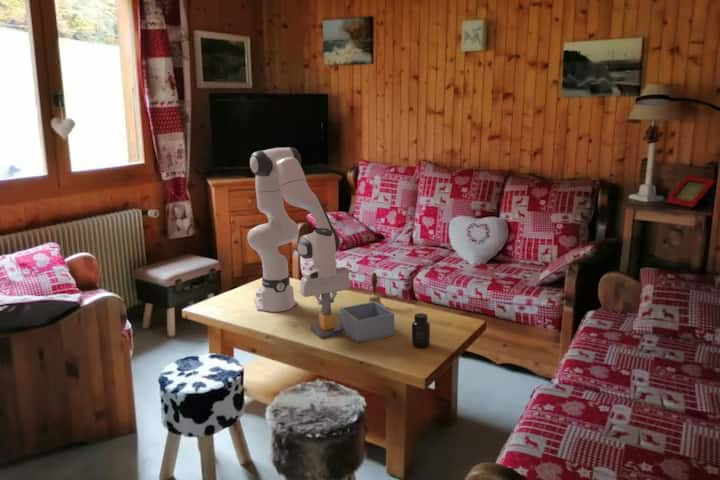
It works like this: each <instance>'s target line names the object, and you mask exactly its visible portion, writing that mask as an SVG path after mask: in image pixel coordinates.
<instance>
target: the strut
mask: <svg viewBox="0 0 720 480" xmlns="http://www.w3.org/2000/svg"><path fill="white" fill-rule="evenodd" d="M330 297H331V293H326V294H320V298H321V300H323V304H322V305H321V312H318V319H319V320H318V321H319V323H320V327H321V328H322V329H323V330H327V329H331V328H334V322H335V318H334V317H335V315H334V313H332V308H331V307H332V306H331V305H332V303H331V300H330ZM319 323H318V324H319Z"/></svg>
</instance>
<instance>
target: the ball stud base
mask: <svg viewBox="0 0 720 480" xmlns="http://www.w3.org/2000/svg"><path fill="white" fill-rule="evenodd" d="M310 331H311V332H312V333H314V335H316V336H317V337H318V338H319V339H324V338H330V337H335V336H339V335H344V333H345V332H344V331H343V328H342V327H340V325H339V324H338V323H336V322H335V321H334V328H331V329H327V330H323V329H322V328H321V327H320V323H316V324H315V323H314V324H312V325H311V324H310Z"/></svg>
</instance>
